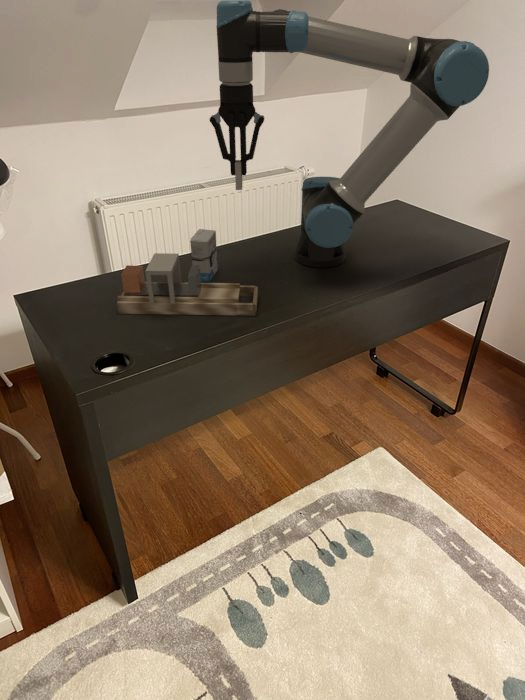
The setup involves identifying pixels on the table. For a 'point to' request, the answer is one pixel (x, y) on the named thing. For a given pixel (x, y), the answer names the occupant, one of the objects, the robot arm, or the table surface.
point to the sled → (159, 284)
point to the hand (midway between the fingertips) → (239, 188)
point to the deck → (197, 301)
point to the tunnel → (163, 273)
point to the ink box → (204, 253)
